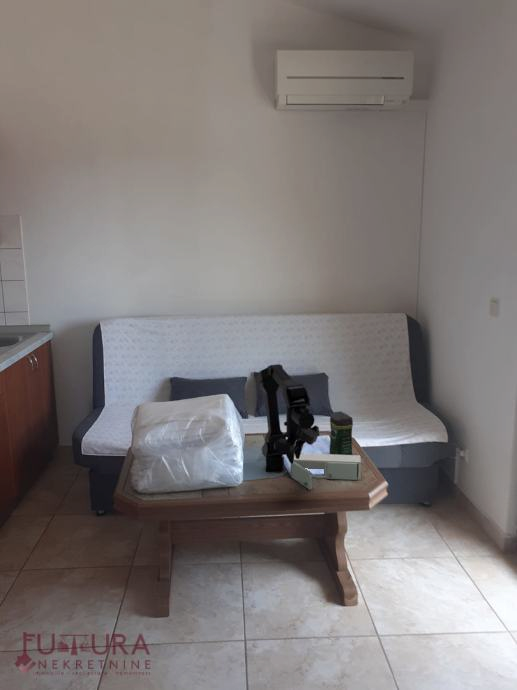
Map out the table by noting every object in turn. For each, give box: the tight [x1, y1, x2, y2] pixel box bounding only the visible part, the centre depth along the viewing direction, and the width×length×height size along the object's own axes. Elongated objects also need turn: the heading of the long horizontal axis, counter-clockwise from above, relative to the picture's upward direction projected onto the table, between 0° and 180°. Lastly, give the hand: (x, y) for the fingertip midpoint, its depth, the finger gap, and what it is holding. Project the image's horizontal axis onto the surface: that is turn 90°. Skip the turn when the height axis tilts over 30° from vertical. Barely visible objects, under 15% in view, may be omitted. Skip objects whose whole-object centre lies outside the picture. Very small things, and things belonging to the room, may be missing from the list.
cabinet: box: [294, 452, 362, 481], centre depth 211 cm, size 26×8×7 cm, turn 83°
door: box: [290, 461, 313, 490], centre depth 205 cm, size 12×2×7 cm, turn 31°
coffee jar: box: [329, 411, 354, 455], centre depth 226 cm, size 10×8×19 cm
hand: (294, 460), depth 197 cm, fingers open, 4 cm apart
